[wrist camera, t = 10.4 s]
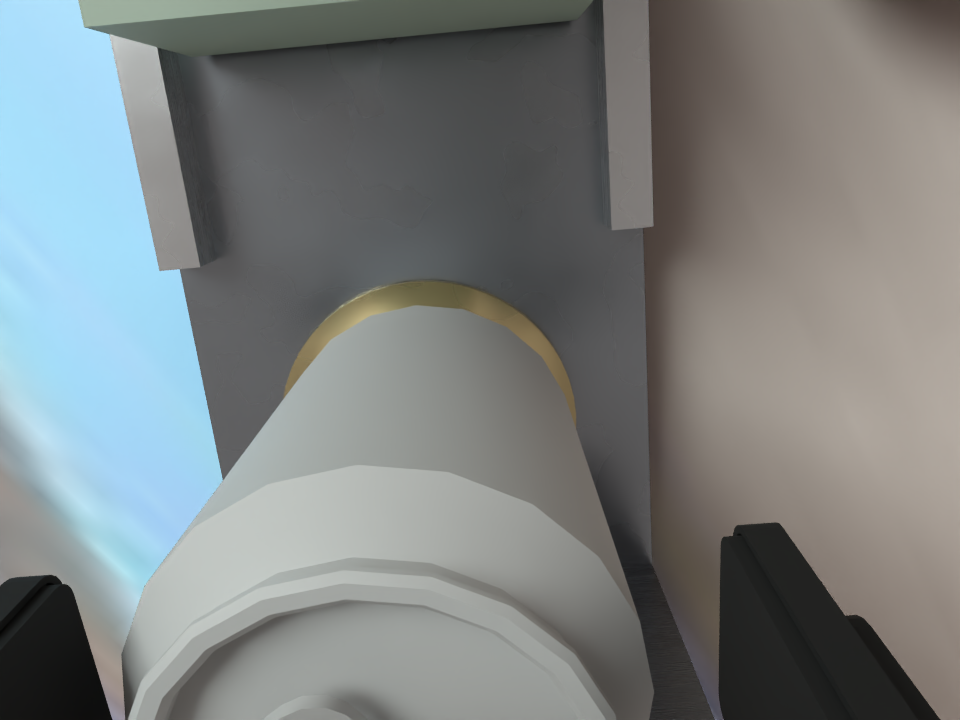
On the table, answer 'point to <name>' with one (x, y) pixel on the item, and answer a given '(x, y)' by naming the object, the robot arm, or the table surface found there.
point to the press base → (422, 227)
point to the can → (399, 550)
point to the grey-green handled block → (306, 20)
